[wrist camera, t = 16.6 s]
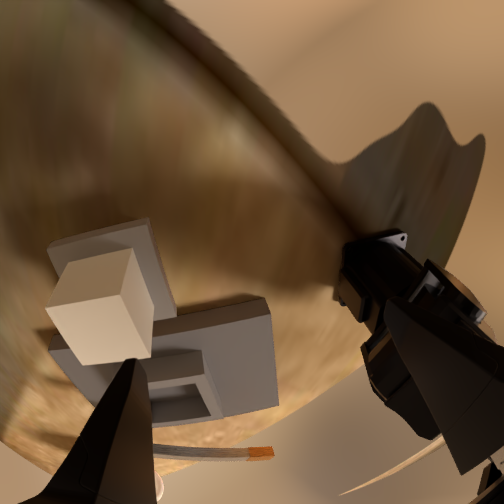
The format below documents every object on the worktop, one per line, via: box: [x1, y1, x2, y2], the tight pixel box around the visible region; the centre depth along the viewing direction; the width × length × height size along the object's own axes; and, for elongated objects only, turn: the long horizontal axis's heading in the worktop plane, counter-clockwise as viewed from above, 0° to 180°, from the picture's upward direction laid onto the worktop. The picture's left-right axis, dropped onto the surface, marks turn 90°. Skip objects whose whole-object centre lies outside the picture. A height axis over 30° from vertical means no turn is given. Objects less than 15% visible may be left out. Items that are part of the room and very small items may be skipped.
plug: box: [45, 217, 177, 365], centre depth 16 cm, size 7×7×8 cm
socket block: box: [48, 298, 279, 428], centre depth 25 cm, size 20×15×6 cm
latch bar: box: [153, 444, 274, 461], centre depth 25 cm, size 19×2×1 cm, turn 67°
